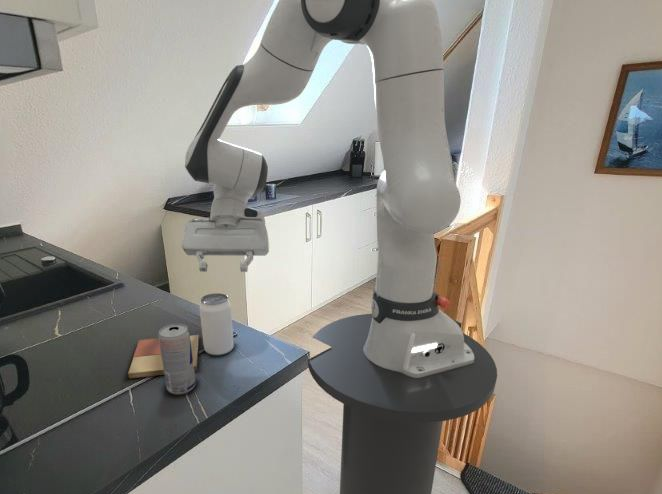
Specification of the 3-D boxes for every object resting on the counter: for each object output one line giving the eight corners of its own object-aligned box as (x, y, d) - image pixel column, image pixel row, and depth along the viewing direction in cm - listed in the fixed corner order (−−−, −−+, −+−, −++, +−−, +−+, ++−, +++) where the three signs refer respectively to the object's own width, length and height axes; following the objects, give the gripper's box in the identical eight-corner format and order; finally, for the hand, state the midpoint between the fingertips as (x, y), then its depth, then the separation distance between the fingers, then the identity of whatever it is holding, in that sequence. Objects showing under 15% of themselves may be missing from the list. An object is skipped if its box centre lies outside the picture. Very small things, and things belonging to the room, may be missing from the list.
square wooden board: (198, 339, 92) (198, 334, 92) (196, 371, 81) (196, 365, 80) (139, 345, 91) (139, 340, 90) (129, 378, 79) (127, 372, 78)
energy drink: (195, 376, 79) (189, 321, 74) (196, 393, 74) (188, 335, 69) (167, 380, 78) (158, 325, 73) (165, 397, 73) (156, 339, 68)
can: (198, 348, 89) (192, 298, 84) (223, 338, 93) (218, 289, 88) (214, 359, 84) (209, 307, 80) (239, 348, 88) (236, 298, 84)
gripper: (182, 211, 95) (174, 264, 90) (268, 211, 94) (265, 265, 88) (190, 225, 101) (182, 276, 96) (271, 225, 100) (268, 276, 94)
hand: (223, 270), depth 92 cm, fingers open, 8 cm apart
